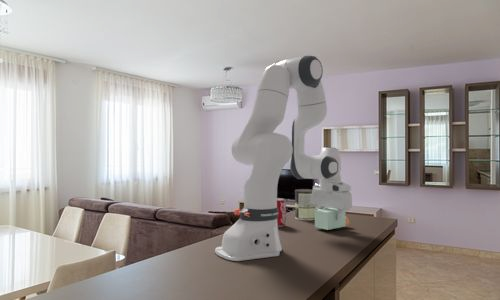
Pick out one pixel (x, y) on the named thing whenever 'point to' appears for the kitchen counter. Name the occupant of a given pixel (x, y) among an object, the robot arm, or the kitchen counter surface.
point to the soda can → (281, 212)
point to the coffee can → (304, 205)
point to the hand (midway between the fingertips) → (330, 218)
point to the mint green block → (329, 219)
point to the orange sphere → (347, 221)
